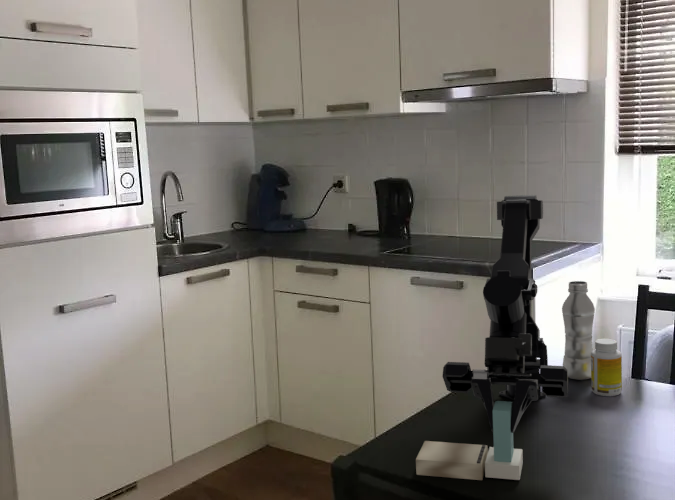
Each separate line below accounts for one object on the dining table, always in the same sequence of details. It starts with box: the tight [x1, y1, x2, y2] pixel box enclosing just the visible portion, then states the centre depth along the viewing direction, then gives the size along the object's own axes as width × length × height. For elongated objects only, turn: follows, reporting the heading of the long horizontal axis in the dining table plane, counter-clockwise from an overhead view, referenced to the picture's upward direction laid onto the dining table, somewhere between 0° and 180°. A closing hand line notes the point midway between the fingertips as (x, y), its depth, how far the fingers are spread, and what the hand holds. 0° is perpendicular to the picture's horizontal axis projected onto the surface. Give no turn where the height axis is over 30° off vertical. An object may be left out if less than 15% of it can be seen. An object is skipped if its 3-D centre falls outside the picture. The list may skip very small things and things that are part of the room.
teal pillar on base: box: [484, 400, 524, 481], centre depth 113 cm, size 5×6×10 cm
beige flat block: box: [415, 440, 489, 481], centre depth 116 cm, size 10×7×3 cm
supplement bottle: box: [590, 338, 623, 397], centre depth 143 cm, size 6×6×10 cm
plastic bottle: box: [561, 280, 596, 381], centre depth 151 cm, size 6×7×20 cm
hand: (502, 431), depth 111 cm, fingers closed on teal pillar on base, 2 cm apart
